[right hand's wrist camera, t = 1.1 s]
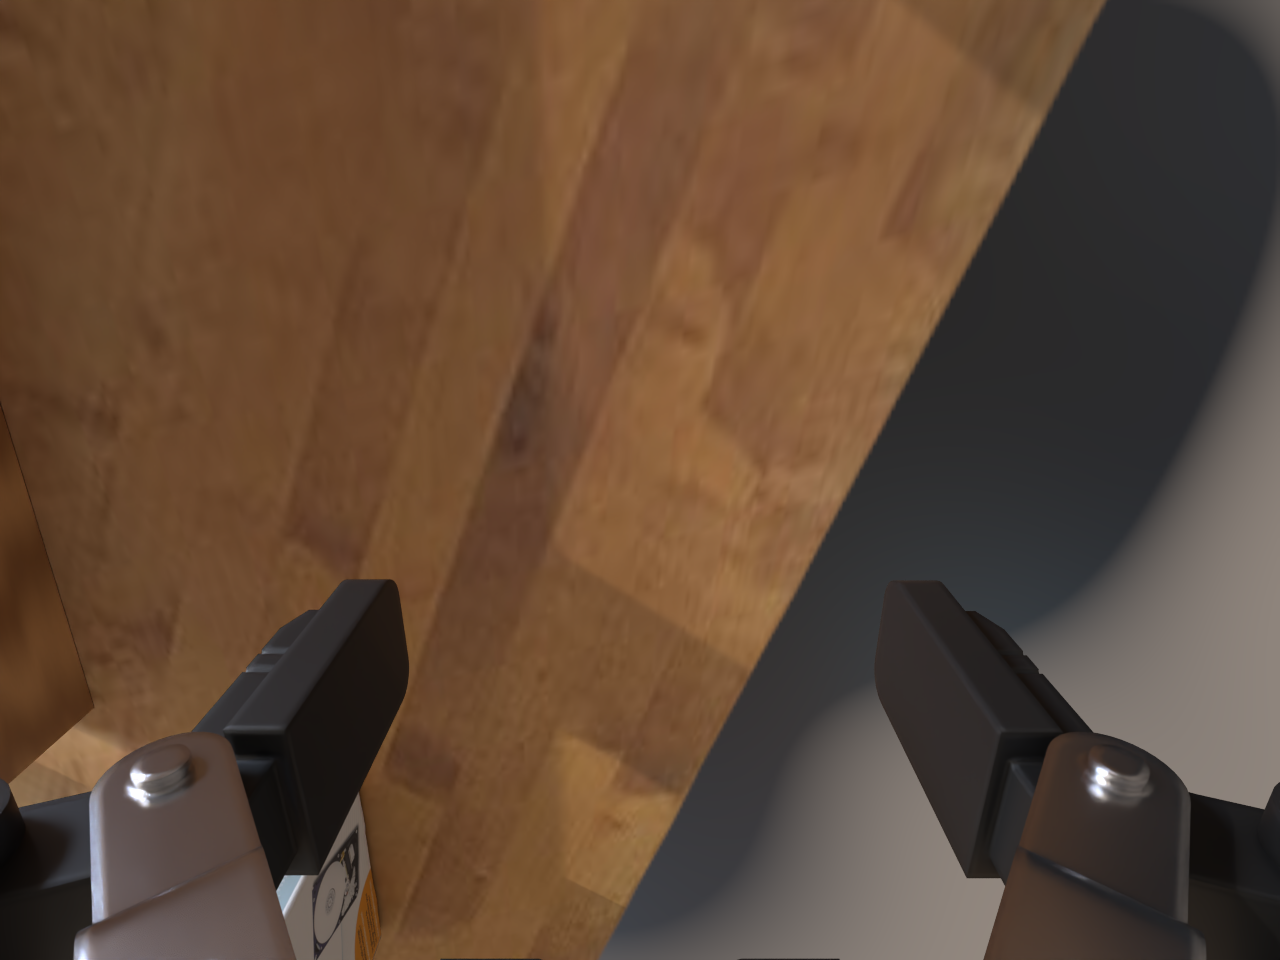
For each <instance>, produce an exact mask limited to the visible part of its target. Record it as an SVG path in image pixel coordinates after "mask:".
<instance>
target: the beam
mask: <svg viewBox="0 0 1280 960" xmlns="http://www.w3.org/2000/svg"><path fill="white" fill-rule="evenodd" d="M93 708H94V705H93V702H92V699H91V696H90V693H89V689H88V686H87V683H86V680H85V676H84V673H83V670H82V667H81V663H80V660H79V657H78V654H77V651H76V647H75V644H74V641H73V638H72V634H71V631H70V628H69V625H68V621H67V618H66V615H65V612H64V609H63V605H62V602H61V599H60V596H59V592H58V589H57V586H56V583H55V579H54V576H53V573H52V570H51V567H50V563H49V560H48V557H47V554H46V550H45V547H44V544H43V541H42V537H41V534H40V531H39V528H38V525H37V521H36V518H35V515H34V512H33V508H32V505H31V502H30V499H29V495H28V492H27V489H26V486H25V483H24V479H23V476H22V473H21V470H20V466H19V463H18V460H17V457H16V453H15V450H14V447H13V444H12V441H11V437H10V434H9V431H8V428H7V424H6V421H5V418H4V415H3V411H2V408H1V405H0V779H2V780H4V781H5V782H6V783H7V784H9V783H10V782H11V781H12V780H13V779H14V778H16V777H17V776H18V775H19V774H20V773H21V772H22V771H23V770H25V769H26V768H27V767H28V766H29V765H30V764H31V763H32V762H34V761H35V760H36V759H37V758H38V757H39V756H40V755H41V754H43V753H44V752H45V751H46V750H47V749H48V748H49V747H50V746H52V745H53V744H54V743H55V742H56V741H57V740H58V739H59V738H60V737H62V736H63V735H64V734H65V733H66V732H67V731H68V730H69V729H71V728H72V727H73V726H74V725H75V724H76V723H77V722H78V721H80V720H81V719H82V718H83V717H84V716H85V715H86V714H87V713H89V712H90V711H91V710H92V709H93Z"/></svg>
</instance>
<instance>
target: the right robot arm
mask: <svg viewBox="0 0 1280 960" xmlns="http://www.w3.org/2000/svg"><path fill="white" fill-rule="evenodd" d="M246 668H247V670H246V672H242V673H241V674H240V676H239V677H238V678H237V679H236V680H235V681H234V683H233V684H232V685H231V686H230V687H229V688H228V690H227V691H226V692H225V693H224V694H223V695H222V697H221V698H220V699H219V700H218V701H217V702H216V704H215V705H214V706H213V707H212V708H211V709H210V711H209V712H208V713H207V714H206V715H205V716H204V718H203V719H202V720H201V721H200V722H199V723H198V725H197V726H196V727H195V728H194V729H193V730H192V732H188V733H181V734H177V735H173V736H169V737H166V738H163V739H159V740H157V741H154V742H152V743H150V744H147V745H145V746H143V747H141V748H139V749H137V750H135V751H134V752H132V753H130V754H129V755H127V756H125V757H124V758H122V759H121V760H120V761H118V762H117V763H116V764H114V765H113V766H112V767H111V768H110V769H109V770H107V771H106V772H105V773H104V775H103V776H102V777H101V778H100V779H99V780H98V782H97V783H96V785H95V786H94V788H93V790H92V791H91V792H87V793H82V794H78V795H73V796H69V797H64V798H60V799H56V800H51V801H47V802H42V803H38V804H33V805H29V806H24V807H20V808H18V806H17V804H16V801H15V799H14V797H13V794H12V792H11V790H10V787H9V785H8V784H7V783H6V782H5V781H4V780H2V779H0V960H296V956H295V953H294V950H293V946H292V943H291V940H290V936H289V933H288V929H287V926H286V923H285V919H284V916H283V913H282V909H281V906H280V903H279V899H278V896H277V892H276V891H277V889H278V887H279V885H280V883H281V882H282V880H283V878H284V876H285V875H319V873H320V871H321V869H322V867H323V865H324V863H325V861H326V859H327V857H328V855H329V853H330V850H331V848H332V846H333V844H334V842H335V840H336V838H337V836H338V834H339V832H340V830H341V828H342V826H343V824H344V821H345V819H346V817H347V815H348V813H349V811H350V809H351V807H352V805H353V803H354V801H355V799H356V797H357V795H358V792H359V790H360V788H361V786H362V784H363V782H364V780H365V778H366V776H367V774H368V772H369V770H370V768H371V766H372V763H373V761H374V759H375V757H376V755H377V753H378V751H379V749H380V747H381V745H382V743H383V741H384V739H385V737H386V734H387V732H388V730H389V728H390V726H391V724H392V722H393V720H394V718H395V716H396V714H397V712H398V710H399V708H400V705H401V703H402V701H403V699H404V696H405V693H406V689H407V684H408V677H409V660H408V652H407V645H406V638H405V631H404V624H403V618H402V611H401V604H400V597H399V591H398V588H397V585H396V583H395V582H394V581H393V580H344V581H342V582H341V583H340V584H339V586H338V587H337V588H336V589H335V591H334V592H333V593H332V594H331V596H330V597H329V598H328V599H327V601H326V602H325V603H324V604H323V606H322V607H321V608H320V609H319V610H308V611H306V612H305V613H303V614H302V615H300V616H299V617H297V618H295V619H294V620H292V621H291V622H289V623H288V624H286V625H284V626H283V627H281V628H280V629H279V630H278V631H277V633H276V634H275V635H274V636H273V637H272V638H271V640H270V641H269V642H268V643H267V644H266V645H265V647H264V648H263V649H262V653H261V654H258V655H257V656H256V657H255V658H254V659H253V661H252V662H251V663H250V664H249V665H248V666H247V667H246ZM875 682H876V688H877V692H878V696H879V699H880V701H881V704H882V706H883V708H884V710H885V712H886V714H887V716H888V718H889V720H890V722H891V724H892V726H893V728H894V730H895V732H896V734H897V736H898V738H899V740H900V742H901V744H902V746H903V749H904V751H905V753H906V755H907V757H908V759H909V761H910V763H911V765H912V767H913V769H914V771H915V773H916V775H917V777H918V779H919V781H920V783H921V785H922V787H923V789H924V791H925V794H926V796H927V798H928V800H929V802H930V804H931V806H932V808H933V810H934V812H935V814H936V816H937V818H938V820H939V822H940V824H941V826H942V828H943V830H944V832H945V835H946V837H947V839H948V841H949V843H950V845H951V847H952V849H953V851H954V853H955V855H956V857H957V859H958V861H959V863H960V865H961V867H962V869H963V871H964V873H965V875H966V877H967V878H1001V879H1002V881H1003V883H1004V885H1005V889H1004V892H1003V896H1002V899H1001V903H1000V906H999V909H998V913H997V916H996V919H995V923H994V926H993V929H992V933H991V936H990V940H989V943H988V946H987V950H986V953H985V956H984V960H1280V782H1279V783H1278V784H1277V785H1276V786H1275V787H1274V789H1273V792H1272V794H1271V796H1270V798H1269V801H1268V803H1267V806H1266V808H1265V810H1264V809H1260V808H1255V807H1251V806H1246V805H1242V804H1237V803H1233V802H1228V801H1224V800H1219V799H1215V798H1211V797H1206V796H1202V795H1197V794H1194V793H1190V792H1188V790H1187V788H1186V786H1185V785H1184V783H1183V782H1182V780H1181V779H1180V778H1179V777H1178V776H1177V775H1176V774H1175V772H1174V771H1172V770H1171V769H1170V768H1169V767H1168V766H1167V765H1166V764H1164V763H1163V762H1162V761H1160V760H1159V759H1158V758H1156V757H1155V756H1153V755H1151V754H1150V753H1148V752H1146V751H1145V750H1143V749H1141V748H1139V747H1137V746H1135V745H1133V744H1130V743H1128V742H1126V741H1123V740H1120V739H1117V738H1114V737H1111V736H1107V735H1103V734H1098V733H1093V732H1092V730H1091V729H1090V728H1089V727H1088V726H1087V725H1086V723H1085V722H1084V721H1083V720H1082V719H1081V718H1080V716H1079V715H1078V714H1077V713H1076V712H1075V711H1074V710H1073V708H1072V707H1071V706H1070V705H1069V704H1068V703H1067V701H1066V700H1065V699H1064V698H1063V697H1062V696H1061V695H1060V693H1059V692H1058V691H1057V690H1056V689H1055V688H1054V686H1053V685H1052V684H1051V683H1050V682H1049V681H1048V680H1047V678H1046V677H1045V676H1044V675H1043V674H1039V672H1038V668H1037V667H1036V666H1035V665H1034V663H1033V662H1032V661H1031V660H1030V659H1029V658H1028V657H1027V656H1026V655H1023V651H1022V650H1021V648H1020V647H1019V646H1018V645H1017V644H1016V643H1015V641H1014V640H1013V639H1012V638H1011V637H1010V636H1009V635H1008V633H1007V632H1006V631H1005V630H1004V629H1002V628H1001V627H999V626H998V625H996V624H995V623H993V622H991V621H990V620H988V619H987V618H985V617H984V616H982V615H980V614H979V613H977V612H976V611H965V610H964V609H963V608H962V607H961V605H960V604H959V603H958V602H957V600H956V599H955V598H954V597H953V595H952V594H951V593H950V592H949V591H948V589H947V588H946V587H945V586H944V585H943V584H942V582H940V581H891V582H890V583H889V584H888V586H887V588H886V591H885V596H884V603H883V610H882V616H881V623H880V630H879V637H878V644H877V650H876V657H875ZM440 960H541V959H440ZM739 960H839V959H739Z"/></svg>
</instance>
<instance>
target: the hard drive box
mask: <svg viewBox="0 0 1280 960" xmlns="http://www.w3.org/2000/svg"><path fill="white" fill-rule="evenodd" d="M276 892H277V896H278V899H279V903H280V906H281V909H282V913H283V916H284V919H285V923H286V926H287V929H288V933H289V936H290V940H291V943H292V946H293V950H294V953H295V956H296V960H373V958H374V955H375V952H376V949H377V946H378V944H379V941H380V938H381V930H380V923H379V917H378V904H377V898H376V893H375V890H374V885H373V879H372V872H371V866H370V860H369V853H368V847H367V841H366V834H365V823H364V817H363V811H362V807H361V802H360V796H359V792H358V795H357V797H356V799H355V801H354V803H353V805H352V807H351V809H350V811H349V813H348V815H347V817H346V819H345V821H344V824H343V826H342V828H341V830H340V832H339V834H338V836H337V838H336V840H335V842H334V844H333V846H332V848H331V850H330V853H329V855H328V857H327V859H326V861H325V863H324V865H323V867H322V869H321V871H320V873H319V875H285V876H284V878H283V880H282V882H281V883H280V885H279V887H278V889H277V891H276Z"/></svg>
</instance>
